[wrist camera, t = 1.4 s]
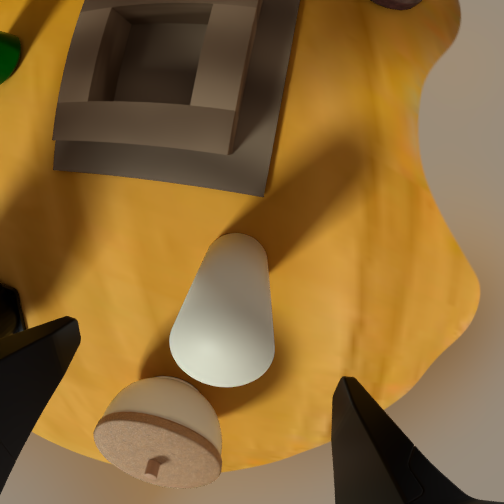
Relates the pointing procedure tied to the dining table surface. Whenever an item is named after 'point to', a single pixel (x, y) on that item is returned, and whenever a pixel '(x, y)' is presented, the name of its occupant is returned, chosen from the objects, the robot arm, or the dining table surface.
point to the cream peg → (227, 316)
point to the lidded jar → (162, 433)
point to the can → (397, 3)
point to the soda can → (8, 54)
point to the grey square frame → (175, 90)
